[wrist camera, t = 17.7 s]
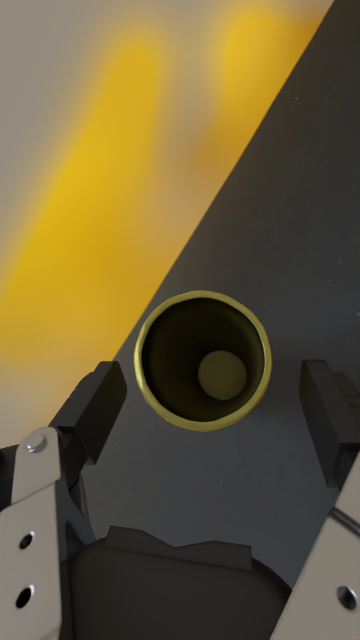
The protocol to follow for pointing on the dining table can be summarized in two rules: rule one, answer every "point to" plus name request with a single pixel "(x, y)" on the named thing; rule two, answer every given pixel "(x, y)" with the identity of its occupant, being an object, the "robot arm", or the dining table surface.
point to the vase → (203, 360)
